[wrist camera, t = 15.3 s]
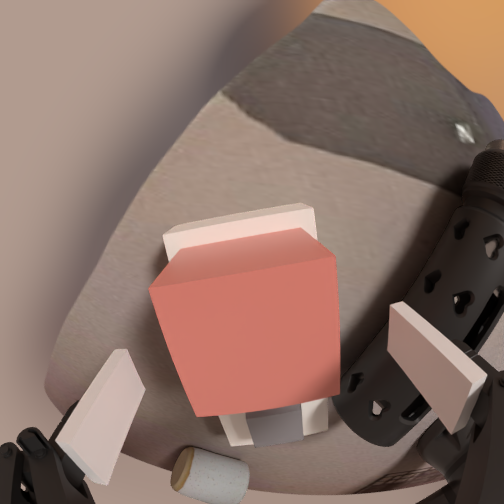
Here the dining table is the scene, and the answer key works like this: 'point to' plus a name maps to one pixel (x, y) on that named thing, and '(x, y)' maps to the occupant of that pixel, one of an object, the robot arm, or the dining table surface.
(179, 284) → the salmon red cube
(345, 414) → the muzzle brake
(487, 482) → the robot arm
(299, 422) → the button plain
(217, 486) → the ceramic mug
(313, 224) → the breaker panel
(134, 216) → the dining table surface
